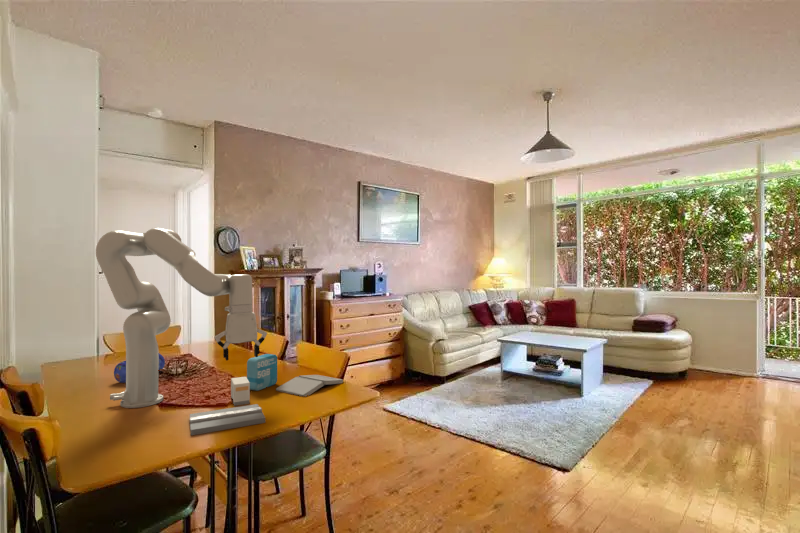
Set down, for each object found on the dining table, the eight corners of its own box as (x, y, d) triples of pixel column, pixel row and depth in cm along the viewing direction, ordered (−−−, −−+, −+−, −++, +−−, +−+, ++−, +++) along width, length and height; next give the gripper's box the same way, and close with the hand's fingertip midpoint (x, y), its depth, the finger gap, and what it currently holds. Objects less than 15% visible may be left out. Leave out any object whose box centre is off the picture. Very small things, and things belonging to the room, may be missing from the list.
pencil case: (149, 370, 185) (149, 349, 185) (167, 370, 185) (167, 349, 185) (111, 383, 163) (111, 360, 163) (131, 384, 163) (131, 360, 163)
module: (234, 406, 137) (234, 384, 137) (230, 398, 145) (231, 378, 145) (249, 403, 139) (249, 382, 139) (245, 396, 148) (245, 376, 148)
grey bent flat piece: (303, 398, 147) (303, 388, 147) (275, 392, 155) (275, 382, 155) (343, 383, 166) (343, 374, 167) (316, 378, 174) (316, 369, 174)
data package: (255, 391, 153) (255, 360, 153) (246, 390, 155) (246, 358, 155) (277, 383, 164) (277, 354, 164) (268, 382, 166) (268, 353, 166)
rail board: (190, 435, 113) (190, 427, 113) (189, 418, 125) (189, 411, 125) (265, 422, 122) (265, 414, 122) (257, 408, 135) (257, 401, 135)
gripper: (214, 311, 135) (215, 363, 135) (268, 308, 143) (269, 357, 143) (213, 310, 142) (213, 359, 142) (264, 307, 150) (265, 353, 150)
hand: (241, 358), depth 143 cm, fingers open, 9 cm apart
